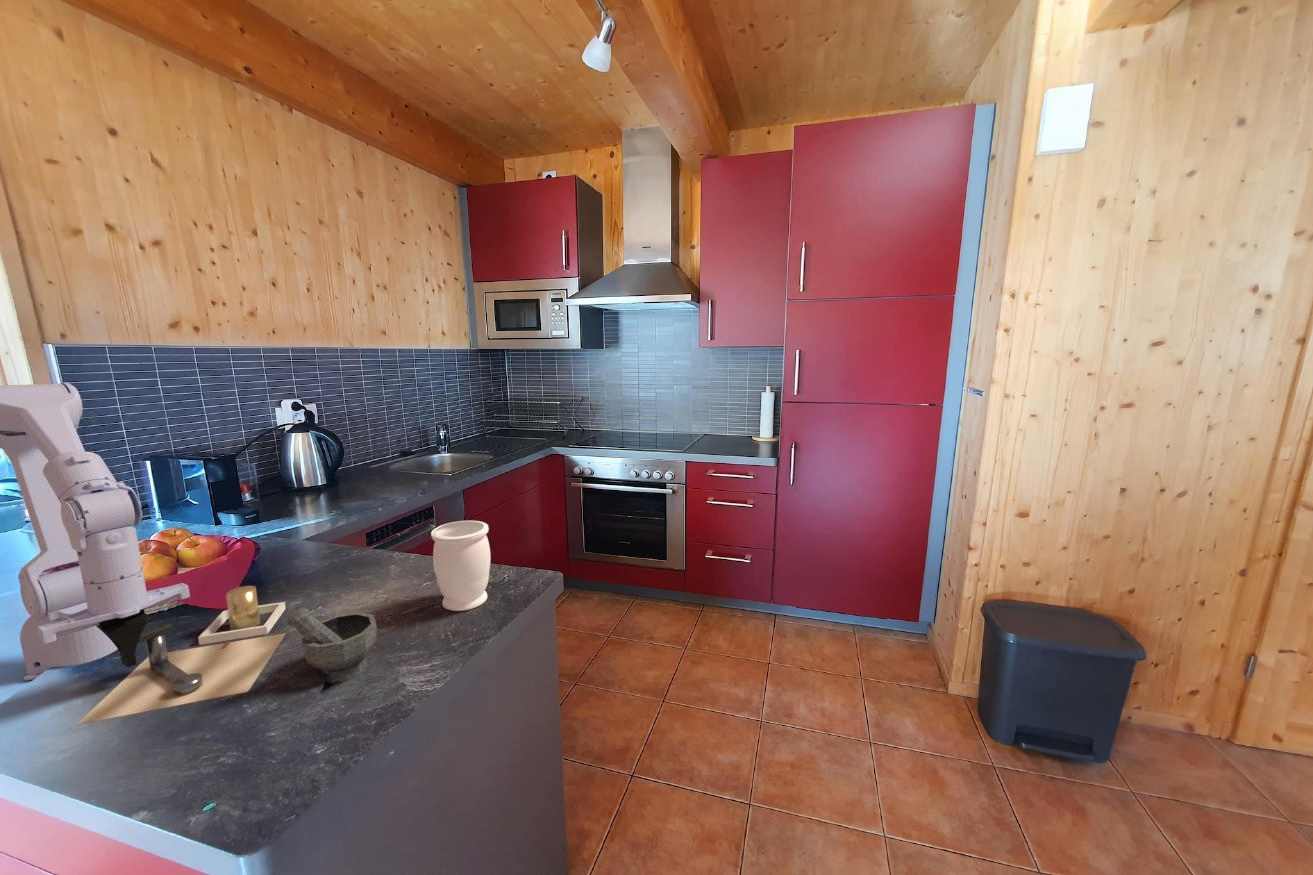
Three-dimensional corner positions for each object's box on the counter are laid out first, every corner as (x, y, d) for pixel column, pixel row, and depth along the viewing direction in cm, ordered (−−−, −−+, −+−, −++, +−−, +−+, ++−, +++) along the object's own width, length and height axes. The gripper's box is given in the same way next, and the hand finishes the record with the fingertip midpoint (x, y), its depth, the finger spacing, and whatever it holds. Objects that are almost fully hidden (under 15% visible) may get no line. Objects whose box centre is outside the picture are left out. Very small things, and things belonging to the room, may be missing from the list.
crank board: (77, 733, 64) (75, 724, 63) (150, 662, 78) (149, 654, 78) (248, 699, 70) (247, 690, 70) (286, 639, 85) (285, 632, 85)
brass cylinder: (227, 636, 84) (222, 598, 83) (235, 625, 88) (230, 588, 87) (256, 631, 86) (251, 594, 85) (263, 620, 90) (258, 584, 89)
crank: (210, 682, 71) (205, 645, 70) (174, 699, 68) (167, 660, 67) (174, 657, 77) (168, 623, 76) (139, 672, 74) (132, 635, 73)
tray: (200, 651, 81) (198, 637, 81) (225, 623, 90) (223, 610, 89) (268, 640, 85) (266, 626, 84) (286, 614, 93) (284, 601, 93)
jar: (494, 608, 95) (490, 533, 93) (435, 619, 91) (429, 541, 89) (491, 585, 105) (487, 517, 102) (437, 594, 101) (432, 523, 99)
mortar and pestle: (363, 644, 83) (356, 577, 81) (392, 664, 78) (385, 592, 76) (284, 680, 74) (273, 605, 72) (310, 705, 69) (299, 624, 67)
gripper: (41, 604, 61) (62, 703, 63) (192, 562, 74) (205, 645, 76) (25, 591, 65) (45, 685, 67) (172, 553, 77) (185, 633, 79)
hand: (129, 663), depth 72 cm, fingers closed
